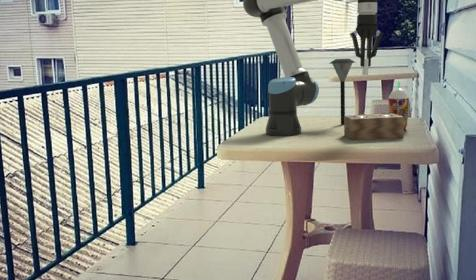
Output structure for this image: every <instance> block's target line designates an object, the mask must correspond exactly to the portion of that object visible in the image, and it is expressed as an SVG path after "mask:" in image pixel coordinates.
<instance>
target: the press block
mask: <svg viewBox="0 0 476 280" xmlns="http://www.w3.org/2000/svg"><path fill="white" fill-rule="evenodd" d="M381 115H391V116H386V117H381ZM357 116H365V118H355V117H357ZM343 126H344V127H343V130H344V131H343V132H344V136H345V138H348V139H350V140H352V141H358V140H359V141H360V140H361V141H362V140H377V139H379V140H381V139H380V138H385V139H402V138H404V134H405V132H404V131H405V130H404V117H403V116H400V115H397V114H394V113H391V114H389V113H376V114H375V113H372V114H371V113H370V114H354V115H351V114H350V115H345V116H344V125H343Z"/></svg>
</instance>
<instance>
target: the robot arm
mask: <svg viewBox="0 0 476 280" xmlns="http://www.w3.org/2000/svg"><path fill="white" fill-rule="evenodd" d="M315 1H317V0H243V3H242V5H243V9H244V11H245V12H246V13H247V15H249V16H250V17H254V18H260V22H261V24H262V26H263V27H267V28H266V29H267V31H268V33H269V36H270V38H271V42H272V44H273V47H274V49H275V52H276V53H275V54H276V55H277V59H278V61H279V63H280V67H281V69H282V71H283V74H284V77H278V78H274V79H271V80H270V81H269V82H268V87H267V88H268V89H267V93H268V111H269V113H268V114H269V115H268V120H267V123H266V127H265V135H267V136H275V137H276V136H281V137H283V136H284V137H285V136H294V135H295V136H296V135H300V134H301V133H302V126H301V124H300V120H299V118H298V114H297V113H298V112H297V111H298V110H297V107H301V106H308V105H311V104H313V103H314V102H315V101H316V100H317V98H318V96H319V92H320V87H319V83H318V82H317V81H316V80H315V79H314V78H312V77H311V76H310V74H309V71H308V70H306V69H304V68H303V65H302V63H301V60H300V57H299V54H298V52H297V49H296V47H295V43H294V41H293V38H292V35H291V33H290V29H289V28H288V24H287V21H286V19H287V16H288V14H287V12H288V8H289V7H288V6H294V5H298V4H299V5H300V4H304V3H309V2H315ZM333 1H336V2H337V1H339V2H342V1H343V0H333ZM356 7H357V12H356V13H357V17H356V27H355V30H354V31H352V32H350V33H349V35H350V37H351V39H352V43H353V44H352V45H353V48H354V53H355V57H357V58H359V59H360V62H359V63H360V64H359V65H360V66H359V67H362V74H361V75H362V76H369V67H371V66H372V58H374V57H377V52H378V49H379V45H380V42H381V38H382V36H383V35H384V32H383V31H380V30H379V29H378V27H377V26H378V25H377V24H378V23H377V22H378V15H377V13H378V0H357V6H356ZM357 36H358V37H359V38H360V47H359V41H358V37H357ZM374 36H376V37H375V39H374V43H372V42H373V37H374ZM372 45H373V46H372ZM365 57H366V58H365Z"/></svg>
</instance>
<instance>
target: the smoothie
mask: <svg viewBox="0 0 476 280" xmlns="http://www.w3.org/2000/svg"><path fill="white" fill-rule="evenodd" d="M387 98H388V112H389V113H388V114H391V113H394V114H397V115H400V116H403V117H404V131H406V128H408V117H409V105H410V104H409V103H410V96H409V94H408V93H407V91H406V90H405V89H402V88H401V87H400V81H398V82H397V88H395V89H394V90H392V91H391V92H390V94H389V96H388V97H387Z"/></svg>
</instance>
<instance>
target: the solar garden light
mask: <svg viewBox="0 0 476 280" xmlns="http://www.w3.org/2000/svg"><path fill="white" fill-rule="evenodd" d="M353 63H356V61H354V60H353V59H351V58H335V59H334V60H332V61H330V62H329V63H328V64H332V66H333V68H334V71H335V73H336V75H337V77H338V79H339V83H340V84H339V85H340V125H341V126H344V116H346V103H345V102H346V97H345V96H346V95H345V93H346V92H345V91H346V90H345V87H346V85H345V82H346V79H347V77H348V75H349V72H350V70H351V67H352V65H353Z"/></svg>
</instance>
